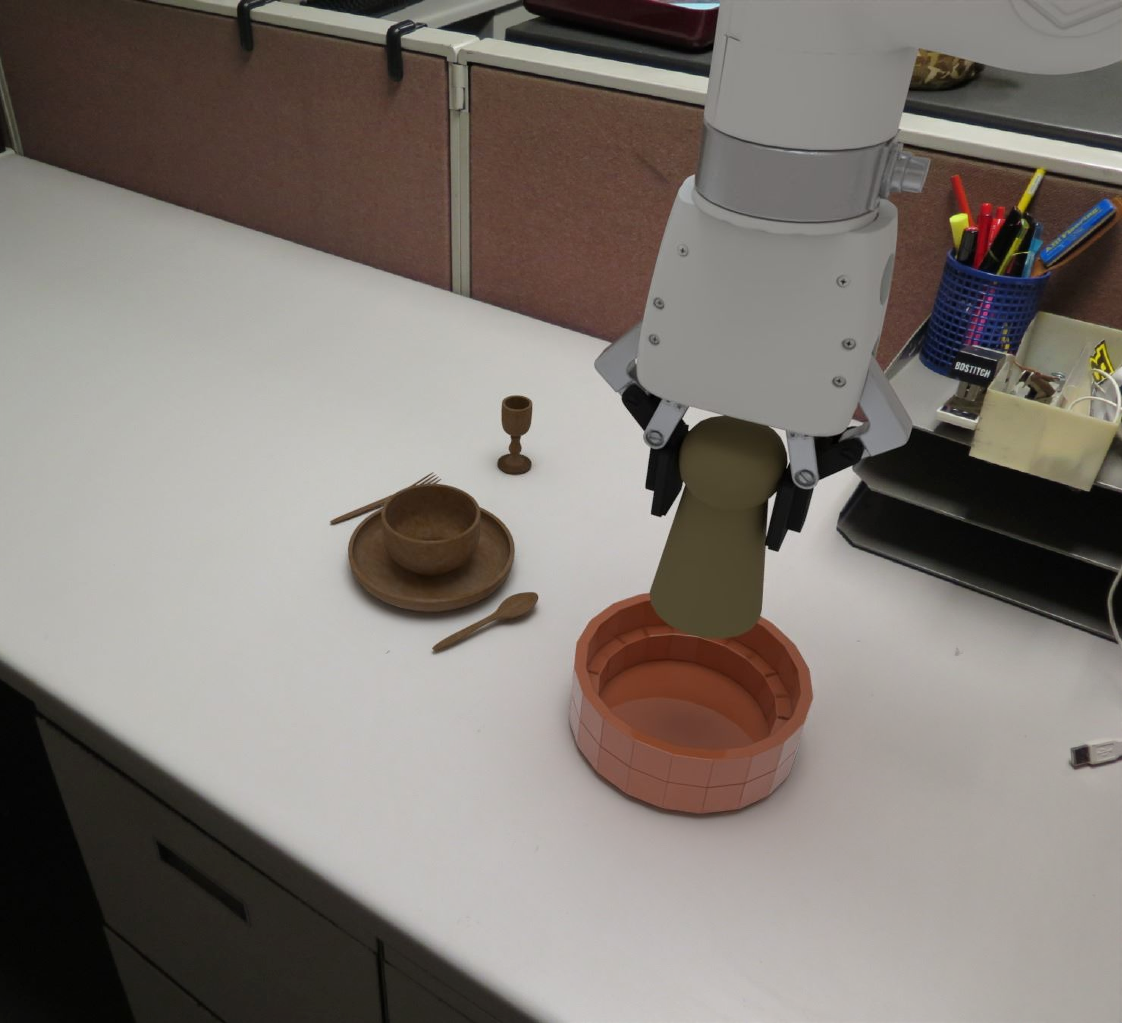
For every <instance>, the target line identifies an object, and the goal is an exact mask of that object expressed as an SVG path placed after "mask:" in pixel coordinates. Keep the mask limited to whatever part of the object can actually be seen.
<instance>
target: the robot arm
mask: <svg viewBox="0 0 1122 1023" xmlns="http://www.w3.org/2000/svg"><path fill="white" fill-rule="evenodd" d="M716 19H717V20H716V28H715V35H714V42H713V49H712V56H711V62H710V63H711V64H710V68H709V75H708V83H707V90H706V96H705V104H704V110H703V117H702V124H701V129H700V136H699V137H700V138H699V144H698V152H697V159H696V166H695V173H694V174H692V175H690V176H688V177H686V179H684V180H683V183H682V184H681V186H680V187H679V189H678V191H677V194H676V197H675V199H674V202H673V204H672V207H671V210H670V214H669V217H668V219H667V222H666V226H665V229H664V232H663V236H662V239H661V243H660V246H659V250H658V253H657V257H656V260H655V261H656V262H655V265H654V268H653V274H652V277H651V281H650V286H649V290H648V294H647V300H646V304H645V307H644V308H645V309H644V313H643V318H642V319H640V320H639V321H638V322H636V323H635V324H633V326H631V327H630V328H629V329H627V330H626V331H625V332H624V333H623V334H622V335H620V336H619V337H618V338H617V339H615V340H614V341H613V342H611V343H610V344H609V345H608V346H606V347H605V348H604V349H603V350H602V352H601V353H600V354H599V355H598V356H597V358H596V359H595V360H594V362H593V365H594V369H595V371H596V372H597V373H598V374H599V376H600V377H601V378H602V379H603V380H604V381H605V382H606V383H607V384H608V386H609V387H610V388H611V389H612V390H613V392H615V393H617V394H618V395H620V398H621V402H622V404H623V406H624V407H625V409H626V410H627V412H629V414H630V415H631V417H632V418H633V419H634V420H635V422H636V423H637V424H638V426H639V427H640V428H641V430H642V431H643V435H642V439H643V441H644V443H645V445H646V446H648V447H649V455H648V460H647V461H648V462H647V469H646V476H645V484H644V488H645V490H648V491H650V492H653V494H652V496H653V497H652V502H651V508H650V509H651V510H650V515H651V516H653V517H654V516H655V517H658V518H662V517H663V516H664V517H666V516H667V514H669V512H670V509H671V508H672V506H673V504H675V501H676V499H677V498H678V496H679V494H681V492H682V489H683V487H684V486H683V485H684V482H683V480H682V479H681V474H680V468H679V461H678V458H679V451H680V448H681V445H682V443H683V441H684V439H685V436H686V434H687V433H688V432H689V431H690V430H689V428H690V425H689V424H688V423H686V422H685V420H684V417H685V416H686V413H687V412H688V410H689V408H695V409H697V410H701V411H706V412H709V413H713V414H717V415H720V416H723V415H725V416H729V417H733V418H737V419H741V420H745V421H749V422H753V423H757V424H761V425H765V426H769V427H770V428H772V429H773V428H774V429H778V430H781V431H785V436H786V444H787V453H788V459H789V460H788V461H789V462H788V464H787V468H786V471H785V473H784V475H783V477H782V479H781V481H780V483H779V486H778V489H777V492H776V493H775V497H774V502H773V506H772V511H771V515H770V518H769V523H768V526H767V533H766V540H765V546H766V547H767V550H770V551H773V552H776V553H779V551H780V549H781V547H782V545H783V543H784V540H785V538H786V536H787V534H788V531H791V532H795V533H799V534H800V533H801V532H802V530H803V528H804V525H805V522H806V520H807V516H808V513H809V509H810V506H811V502H812V498H813V494H814V490H815V487H816V486H817V485H818V483H819V481H821V480H823V479H826V478H828V477H830V476H832V475H835V474H837V473H840V472H841V471H844V470H847V469H848V468H851V467H853V466H855V465H856V464H858V463H859V462H861V460H863V459H865V458H868V457H871V458H872V457H874V456H878V455H881V454H883V453H886V452H889V451H891V450H894V449H897V448H900V447H902V446H904V445H906V444H907V442H908V441H909V439H910V436H911V432H912V431H913V430H912V429H913V427H914V426H913V425H914V422H913V420H912V419H911V417H910V415H909V412H908V411H907V410H906V408H905V407H904V405H903V403H902V401H901V400H900V398H899V396H898V394H897V393H896V391H895V390H894V388H893V386H892V384H891V383H890V381H889V379H888V378H887V376H886V375H885V374H886V373H885V372H884V370H883V369H882V367H881V366H880V364H879V363H878V360H877V359H876V357H877V353H878V349H879V346H880V340H881V336H882V332H883V326H884V321H885V318H886V312H887V308H888V303H889V297H890V293H891V287H892V281H893V276H894V267H895V261H896V250H897V240H898V227H899V226H898V225H899V224H898V223H899V218H898V216H899V210H898V207H897V206H896V205H895V204H894V203H893V202H891V201H890V200H888V198H889V197H890V195H891V193H893V194H901V192H908V193H916V194H921V193H922V191H923V189H924V186H925V182H926V180H927V176H928V172H929V168H930V166H931V157H924V156H923V157H922V156H916V155H913V152H912V151H909V150H908V151H907V150H903V148H904V143H903V142H898V141H899V137H900V134H901V128H900V124H901V121H902V117H903V112H904V109H905V105H906V100H907V97H908V92H909V88H910V86H911V85H910V84H911V81H912V77H913V74H914V68H915V65H916V61H917V59H918V58H917V57H918V53H919V49H920V50H925V51H930V52H934V53H939V54H942V55H946V56H951V57H954V58H958V59H962V60H966V61H969V62H974V63H978V64H981V65H985V66H988V67H989V66H990V67H994V68H998V69H1003V70H1005V71H1013V72H1018V73H1024V74H1033V75H1045V76H1048V75H1049V76H1050V75H1051V76H1057V75H1059V76H1060V75H1071V74H1077V73H1083V72H1088V71H1093V70H1097V69H1101V68H1104V67H1108V66H1110V65H1113V64H1116V63H1118V62H1121V61H1122V0H719V6H718V12H717V18H716ZM858 406H859V407H860V409H861V411H862V412H863V414H864V416H865V418H866V419H867V421H865V422H863V423H862V424H861V425H858V426H857V425H850V423H851V421H852V420H853V416H854V414H855V412H856V410H857V408H858ZM849 425H850V426H849Z"/></svg>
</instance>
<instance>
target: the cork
mask: <svg viewBox="0 0 1122 1023" xmlns="http://www.w3.org/2000/svg"><path fill="white" fill-rule="evenodd" d="M688 431H689V432H688V433H687V434H686V436H685V439H684V441H683V443H682V445H681V448H680V451H679V458H678V461H679V468H680V474H681V479H682V480H683V484H684V486H683V490H682V493H681V496H680V499H679V502H678V506H677V508H676V510H675V514H674V517H673V520H672V523H671V526H670V529H669V532H668V535H667V538H666V540H665V544H664V547H663V550H662V553H661V557H660V560H659V562H658V566H657V568H656V571H655V574H654V578H653V580H652V583H651V587H650V589H649V593H650V600H651V605H652V606H653V608H654V610H655V611H656V613H657V615H658V616H659V617H660V618H662V619H663V620H664V621H665V622H666V623H667V624H668V625H670V626H672V627H674V628H676V629H678V630H680V631H682V632H684V633H686V634H690V635H693V636H697V637H701V638H713V639H724V638H729V637H735V636H739V635H741V634H743V633H745V632H747V631H749V630H751V629H752V628H753V627H754V625H755V624H756V623H757V622H758V621H759V619H760V616H761V615H762V611H763V602H764V601H763V600H764V585H765V584H764V583H765V566H766V551H767V550H766V548H767V546H765V540H766V536H767V532H768V516H769V515H768V513H769V499H771V498H772V497H773V496H774V495H776V493H777V489H778V486H779V483H780V481H781V479H782V477H783V475H784V473H785V471H786V468H787V466H788V464H789V462H788V461H789V460H788V459H789V458H788V451H787V449H786V446H785V443H784V441H783V439H782V437H781V436H780V434H779V433H778V432H777V431H776V430H775V428H774V429H773V427H769V426H765V425H761V424H757V423H753V422H749V421H745V420H741V419H737V418H733V417H729V416H725V415H716V416H711V417H708V418H705V419H702V420H700V421H699V422H697V423H696V424H695V425H694V426H693V427H691V429H690V430H688Z"/></svg>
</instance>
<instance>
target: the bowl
mask: <svg viewBox="0 0 1122 1023" xmlns="http://www.w3.org/2000/svg"><path fill="white" fill-rule="evenodd" d="M572 673H573V674H572V682H571V690H570V691H571V692H570V700H569V701H570V702H569V712H568V721H569V724H570V727H571V730H572V733H573V737H574V740H575V744H576V745H577V748H578V750H579V751H580V752H581V753H582V755H583V756H584V757H585V759H586V760H587V762H589V763H590V765H591V766H592V768H593V769H594V770H595V772H597V774H599V775H600V776H602V777H603V778H604V779H606V780H607V781H609V782H610V783H611V784H612V785H614V786H615V787H616V788H618V789H619V790H621V792H623V793H625V794H626V795H628V796H631V797H633V798H636V799H638V800H641V801H643V802H646V803H648V804H650V805H653V806H655V807H658V808H661V809H665V810H672V811H679V812H687V813H691V814H707V813H716V812H717V813H718V812H726V811H733V810H740V809H743V808H745V807H746V806H749V805H752V804H754V803H755V802H758V801H760V800H762V799H765V798H767V797H769V796H770V795H772V793H773V792H774V791H775V790H776V789H777V788H778V787H779V786H780V785H781V784H782V783H783V782H784V781H785V780H786V779H787V778H788V777H789V775H790V774H791V771H792V767H793V765H794V762H795V759H796V757H797V753H798V750H799V747H800V744H801V740H802V737H803V733H804V730H805V727H806V723H807V720H808V718H809V713H810V710H811V707H812V704H813V700H814V691H813V684H812V683H813V682H812V676H811V670H810V667H809V666H808V664H807V663H806V661H805V659H804V657H803V655H802V653H801V651H800V650H799V649H798V646H797V645H796V644H795V642H794V641H793V640H791V639H790V638H789V637H788V636H787V635H786V634H785V633H784V632H782V630H780V629H779V628H778V627H777V626H776V625H775V624H774V623H773V622H771V621H770V620H768V619H766V618H765V617H763V616H761V615H760V619H759V621H758V622H757V623H756V624H755V625H754V627H753V628H752V629H751V630H749V631H747V632H745V633H743V634H741V635H739V636H735V637H729V638H724V639H713V638H701V637H697V636H693V635H690V634H686V633H684V632H682V631H680V630H678V629H676V628H674V627H672V626H670V625H668V624H667V623H666V622H665V621H664V620H663V619H662V618H660V617H659V616H658V615H657V613H656V611H655V610H654V608H653V606H652V605H651V600H650V592H646V593H639V594H636V595H633V596H630V597H628V598H625V599H621V600H619V601H617V602H614V603H612V604H610V605H609V606H607V607H606V608H605V609H603V610H602V611H600V612H599V613H598V614H597V615H595V616H594V617H593V618H591V619H590V620H589V621H588V623H587V624H586V626H585V628H584V629H583V631H582V633H581V634H580V636H579V637H578V639H577V640H576V643H575V654H574V662H573V671H572Z"/></svg>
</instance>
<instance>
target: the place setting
mask: <svg viewBox="0 0 1122 1023" xmlns="http://www.w3.org/2000/svg"><path fill="white" fill-rule="evenodd" d="M500 411H501V414H500V416H501V417H500V419H501V426H502V430H503V431H504V432H505V433H506V434H507V435H508V436H510V443H509V445H508V452H509V453H506V454H502V455H501V456H500V457H499V458H498V459H497V468H498V469H499V470H500V471H502V472H503V473H506V474H510V475H521V474H525V473H527V472H528V471H530V470H531V468H532V465H533V463H532V460H531V459H530V458H529V457H528V455H527V456H526V455H524V454H522V451H523V447H522V444H521V439H522V436H524V435H526V434H527V433H528V432H529V431H530V428H531V426H532V421H533V420H532V418H533V401H532V399H530V398H529V397H527V396H524V395H509V396H506V397H504V398H503V399H502V401H501V410H500ZM434 472H435V471H433V472H431V473H429V474H427V475H425V476H424V477H422V478H421V479H419V480H418V481H416V482H414V483H413V484H411V485H409V486H407V487H405V488H403V489H400V490H398V491H397V492H395V493H393V494H390V495H388V496H385V497H383V498H381V499H377V500H376V501H374V502H370V503H368V504H366V505H363V506H361V507H359V508H356V509H354V510H352V511H349V512H347V513H345V514H342V515H340V516H337V517H335V518H333V519H332V520H330V521H329V522H330V524H336V523H339V522H342V521H345V520H348V519H350V518H353V517H355V516H357V515H360V514H363V513H365V512H368V511H370V510H372V509H375V508H377V507H379V506H382V507H381V508H379V509H377V510H376V511H374V512H372V513H371V514H369V515H368V516H367V517H365V518H364V519H363V520H362V521H361V522H360V523H358V524H357V526H356V527H355V529H354V530H353V532H352V534H351V536H350V538H349V541H348V545H347V557H348V562H349V567H350V569H351V572H352V574H353V576H354V577H355V579H356V580H357V582H358V583H359V585H360V586H361V587H362V588H364V590H366V591H367V592H368V593H369V594H370V595H372V596H373V597H375V598H376V599H378V600H380V601H382V602H384V603H387V604H389V605H391V606H394V607H397V608H401V609H405V610H408V611H409V610H411V611H414V612H415V611H417V612H445V611H452V610H456V609H461V608H465V607H467V606H470V605H472V604H475V603H477V602H479V601H481V600H483V599H485V598H486V597H489V596H490V595H491V594H493V593H494V592H495V591H496V590H497V589H498V588H500V586H501V585H502V584H503V583H504V582H505V580H506V579H507V577H508V576H509V574H510V572H511V570H512V567H513V565H514V561H515V553H516V552H515V551H516V548H515V547H516V546H515V541H514V538H513V535H512V533H511V531H510V530H509V528H508V526H506V524H505V523H504V522H503V521H502V520H501V519H500V518H499V517H497V516H496V515H495V514H494V513H492V512H490V511H489V510H487V509H485V508H483V507H482V506H480V505H479V503H478V502H477V500H476V499H475V498H474V497H473V496H472V495H471V494H469V493H468V492H466V491H464V490H463V489H460V488H458V487H455V486H452V485H447V484H444V483H443V484H441V483H439V482H440V481H441V480H442V478H440V479H438V478H439V476H437V474H434ZM436 476H437V477H436ZM437 479H438V480H437ZM538 601H539V594H538V593H537V592H534V591H526V592H519V593H514V594H512V595H510V596H508V597H506V598H505V599H504V600H503V601H502V602H501V603H500V604H499V606H497V609H496V610H495V611H494V612H492V613H491V614H489V615H488V616H486V617H484V618H482V619H480V620H478V621H477V622H474V623H472V624H470V625H468V626H465V627H464V628H463V629H461V630H458V631H456V632H454V633H453V634H451V635H449V636H447V637H445V638H444V639H442V640H440V641H439V642H437V643H436V644H435V645H433V646H432V647H431V649H432V650H433V651H439V650H441V649H444V648H446V647H448V646H451V645H452V644H454V643H456V642H458V641H460V640H461V639H463V638H466V637H467V636H469V635H470V634H472V633H474V632H475V631H478V630H479V629H480V628H482V627H484V626H486V625H488V624H490V623H492V622H494V621H496V620H501V619H503V620H505V619H507V620H509V619H514V618H518V617H521V616H523V615H525V614H527V613H529V612H531V610H532V609H533V608H534V607H535V606H536V605H537V603H538Z"/></svg>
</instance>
